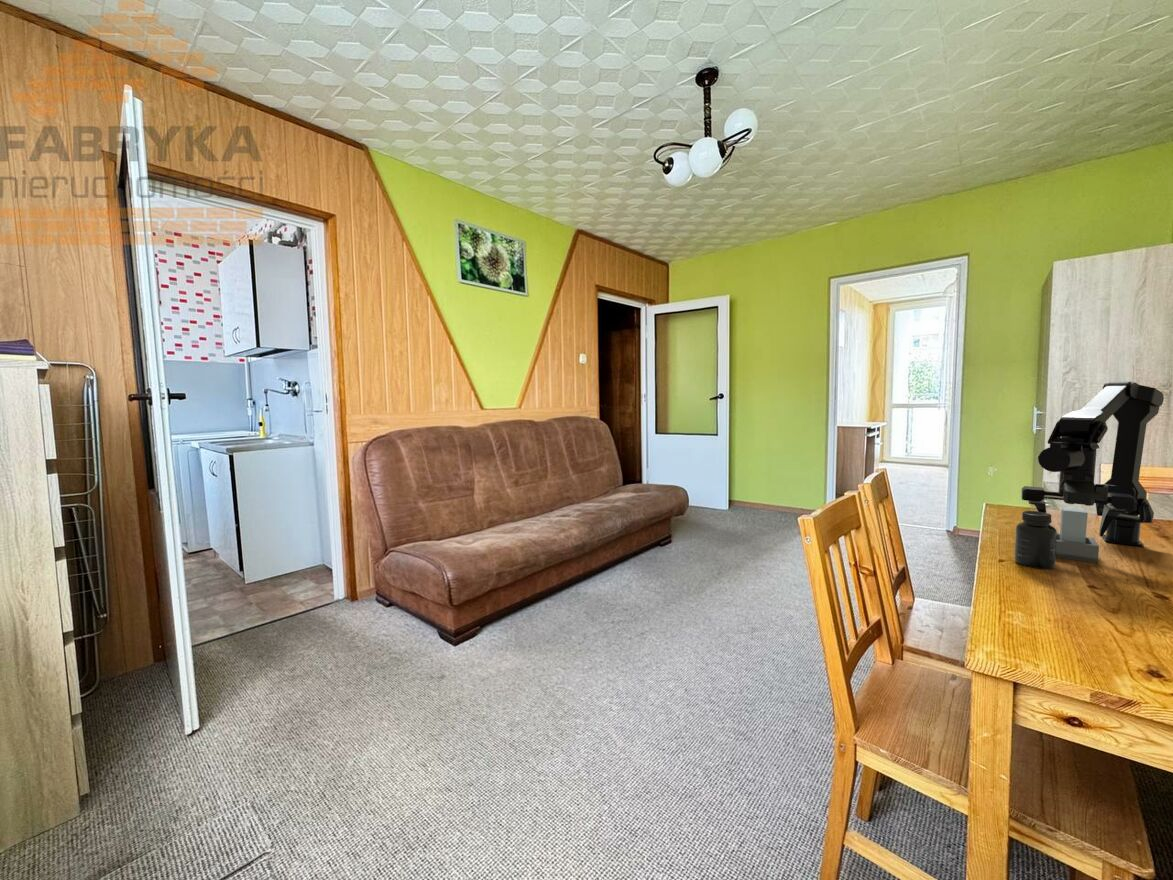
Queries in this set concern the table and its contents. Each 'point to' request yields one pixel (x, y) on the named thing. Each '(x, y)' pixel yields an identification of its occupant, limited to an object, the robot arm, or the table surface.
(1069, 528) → the blue-grey block
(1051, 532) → the supplement bottle
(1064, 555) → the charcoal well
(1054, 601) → the table surface
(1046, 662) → the table surface
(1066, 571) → the table surface
